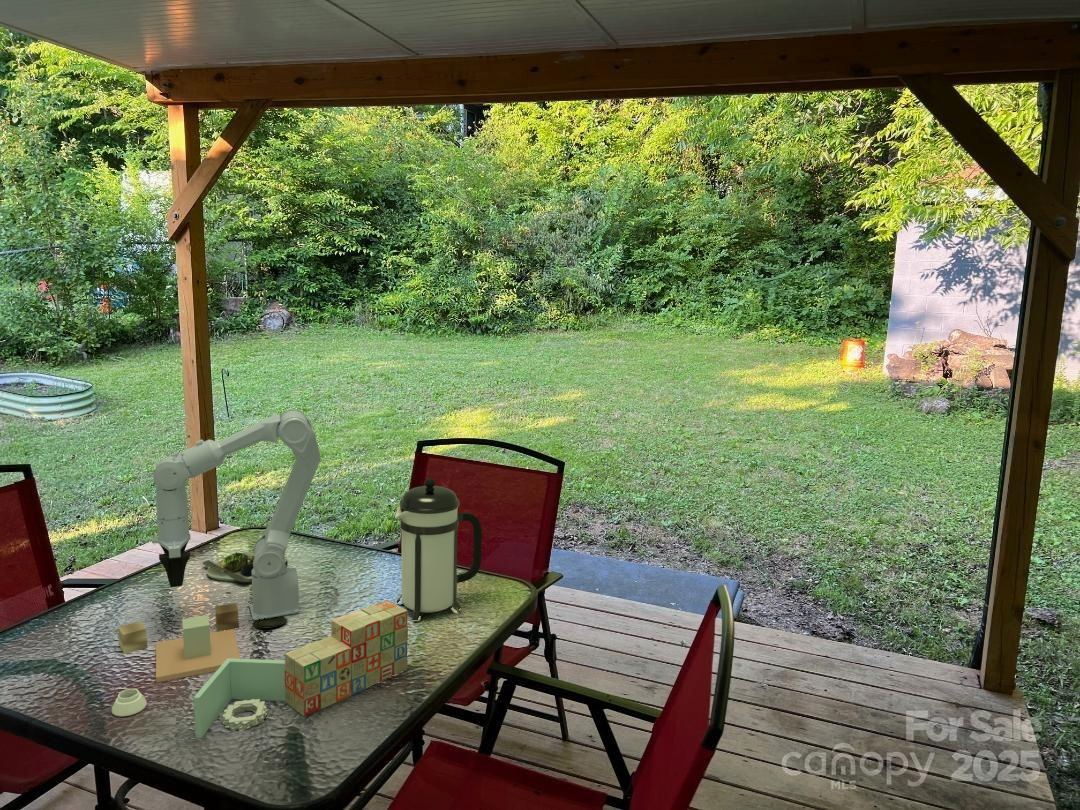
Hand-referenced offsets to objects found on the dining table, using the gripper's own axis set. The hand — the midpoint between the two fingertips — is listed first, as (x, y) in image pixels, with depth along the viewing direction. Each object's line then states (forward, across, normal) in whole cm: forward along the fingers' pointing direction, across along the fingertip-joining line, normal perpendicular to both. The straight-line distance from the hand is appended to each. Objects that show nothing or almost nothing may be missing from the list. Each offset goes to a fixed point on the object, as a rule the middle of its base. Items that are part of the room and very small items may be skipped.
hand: (176, 579), depth 151 cm
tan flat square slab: (+9, +17, +3) cm, 20 cm away
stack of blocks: (+10, +39, +27) cm, 48 cm away
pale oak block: (+10, +8, -8) cm, 15 cm away
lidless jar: (+10, +31, -8) cm, 33 cm away
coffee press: (+10, +14, +51) cm, 54 cm away
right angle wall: (+10, +41, +10) cm, 44 cm away
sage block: (+8, +17, +3) cm, 19 cm away
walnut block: (+10, +6, +9) cm, 14 cm away
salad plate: (+10, -23, +16) cm, 30 cm away
